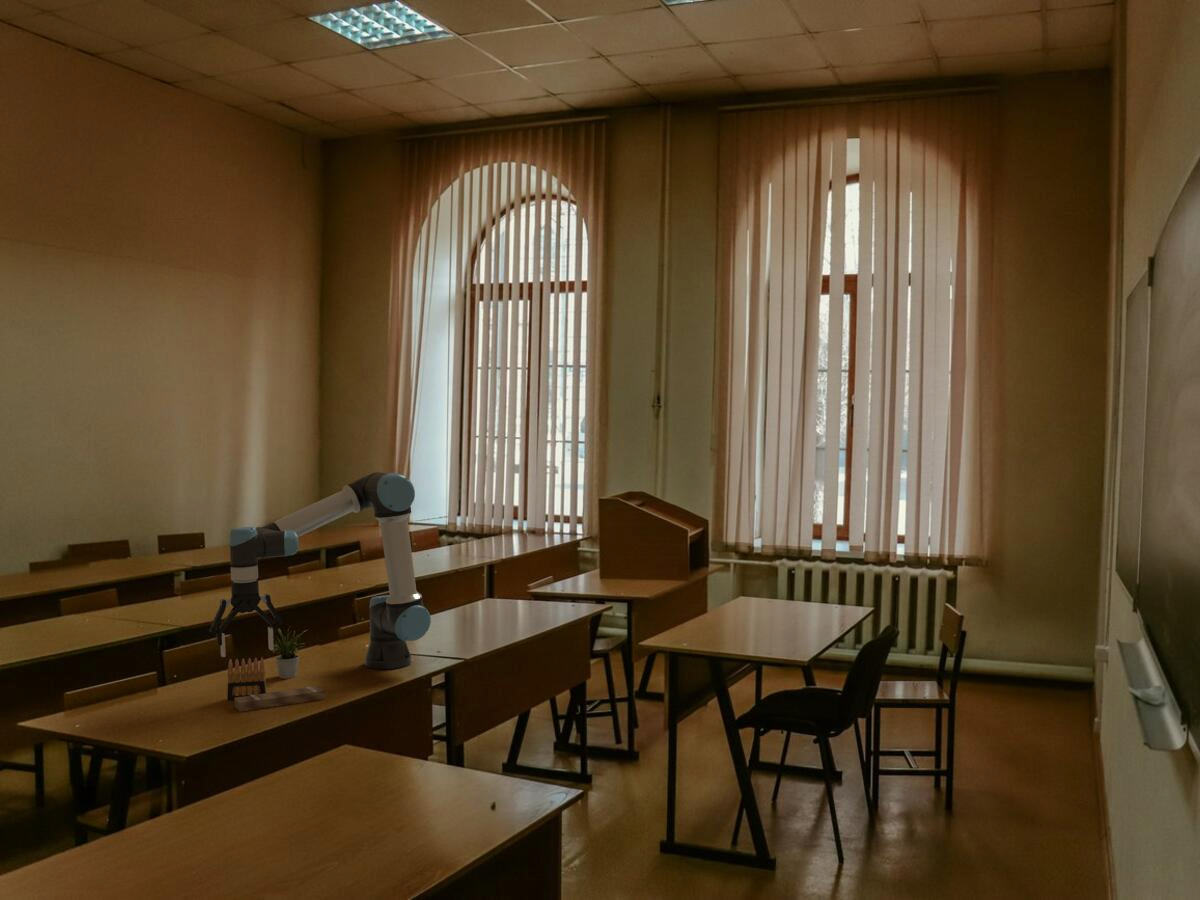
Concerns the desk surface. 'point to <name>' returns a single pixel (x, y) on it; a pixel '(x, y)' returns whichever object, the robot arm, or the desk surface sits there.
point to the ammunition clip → (246, 679)
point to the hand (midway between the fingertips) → (247, 652)
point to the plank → (279, 698)
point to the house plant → (287, 655)
